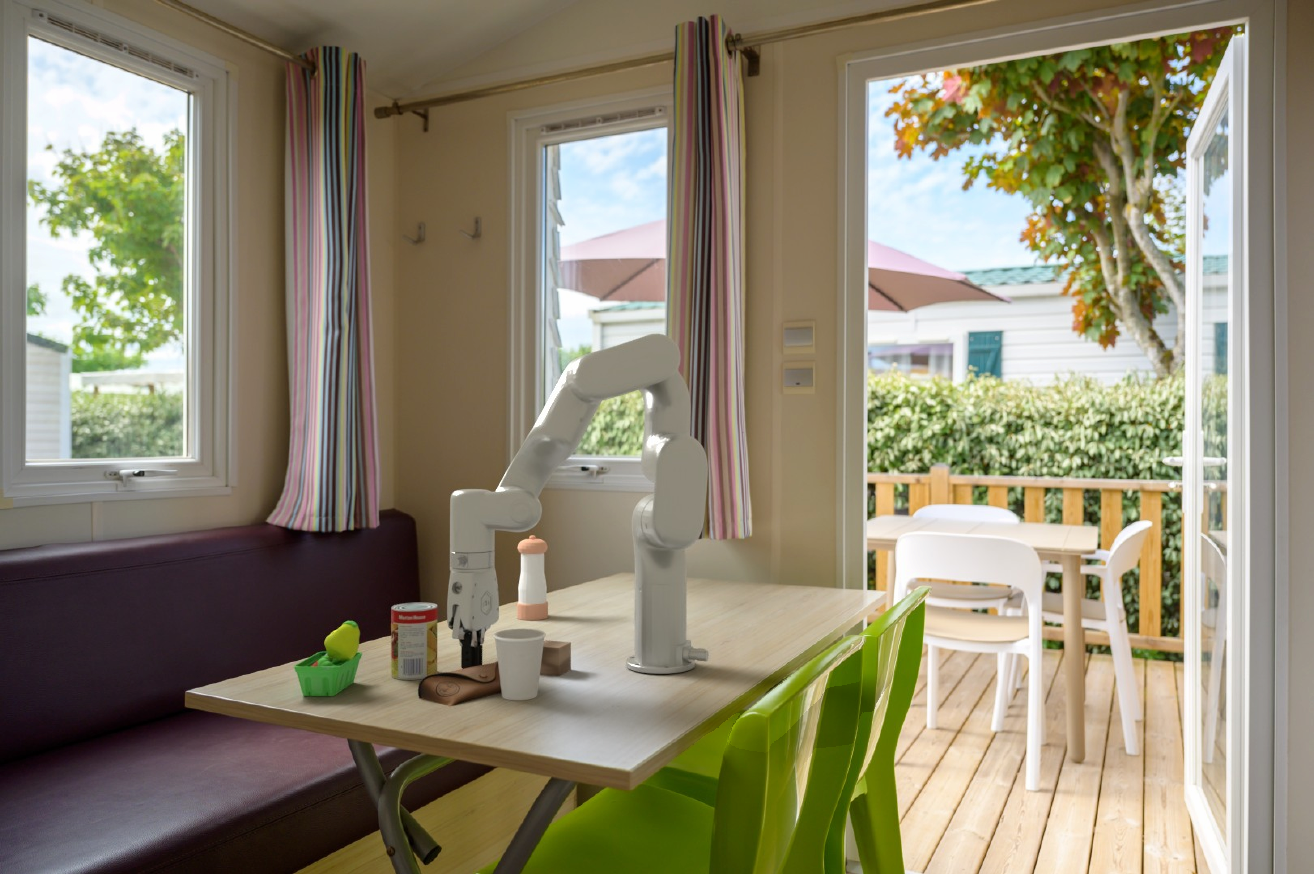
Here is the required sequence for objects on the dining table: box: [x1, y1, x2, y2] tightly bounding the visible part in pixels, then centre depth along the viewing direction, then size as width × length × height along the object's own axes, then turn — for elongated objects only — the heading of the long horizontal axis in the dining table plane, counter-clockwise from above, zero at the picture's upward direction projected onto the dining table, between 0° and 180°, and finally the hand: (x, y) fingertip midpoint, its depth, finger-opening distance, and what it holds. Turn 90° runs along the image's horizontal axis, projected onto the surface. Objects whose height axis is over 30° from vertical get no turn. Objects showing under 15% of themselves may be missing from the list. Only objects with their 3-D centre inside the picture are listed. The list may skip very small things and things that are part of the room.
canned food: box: [390, 602, 438, 681], centre depth 163 cm, size 8×8×12 cm
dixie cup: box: [493, 628, 547, 701], centre depth 149 cm, size 8×8×10 cm
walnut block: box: [540, 639, 572, 677], centre depth 165 cm, size 5×5×5 cm
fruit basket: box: [293, 620, 363, 697], centre depth 153 cm, size 11×9×11 cm
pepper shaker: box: [516, 535, 549, 621], centre depth 217 cm, size 7×7×19 cm
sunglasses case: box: [417, 660, 502, 707], centre depth 153 cm, size 18×7×7 cm
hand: (471, 668), depth 159 cm, fingers closed
